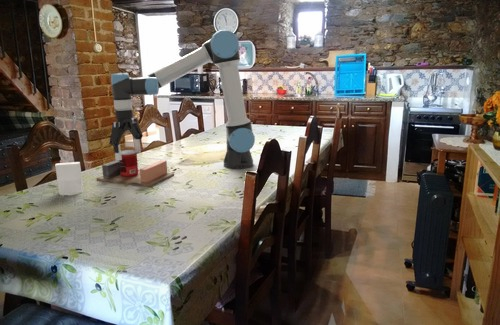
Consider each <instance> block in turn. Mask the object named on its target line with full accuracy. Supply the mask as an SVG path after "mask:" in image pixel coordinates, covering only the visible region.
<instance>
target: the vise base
mask: <svg viewBox="0 0 500 325" xmlns="http://www.w3.org/2000/svg"><path fill="white" fill-rule="evenodd" d="M101 169H102V176H98V177H96V181H100V182H107V183H114V184H115V183H117V184H124V185H125V184H126V185H133V186H141V187H150V188H152V187H154V186H156V185H159V184H161V183H162V182H164V181H166V180H168V179H170V178H172V177H174V176H175V173H173V172H167V173H166V174H164V175H162V176H160V177H158V178H156V179H154V180H152V181H150V182H147V183H144V182H141V177H140V169H138V175H136V176H133V177H122V176H121V173H120V163H119V160H116V159H115V160H113V161H111V162H108V163H103V164H102V165H101Z"/></svg>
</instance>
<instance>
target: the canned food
mask: <svg viewBox="0 0 500 325" xmlns="http://www.w3.org/2000/svg"><path fill="white" fill-rule="evenodd" d="M137 154H138V153H137V152H136V151H135V149H125V150H121V156H122V160H119V163H120V173H121V176H122V177H133V176H136V175H138V170H139V166H138V155H137Z"/></svg>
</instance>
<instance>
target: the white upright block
mask: <svg viewBox="0 0 500 325" xmlns="http://www.w3.org/2000/svg"><path fill="white" fill-rule="evenodd" d="M54 167H55V173H56V174H55V175H56V181H57V185H58V186H57V187H58V193H59V195H60V196H64V195H68V196H73V195H74V196H75V195H79V194H81V193H83V192H84V184H83V175H82V167H81V162H80V161H72V162H60V163H58V162H57V163H55V165H54Z"/></svg>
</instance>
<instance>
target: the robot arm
mask: <svg viewBox="0 0 500 325" xmlns="http://www.w3.org/2000/svg"><path fill="white" fill-rule="evenodd" d="M239 45H240V42H239V38H238V36H237V35H236V34H235V32H233V31H231V30H228V29H220V30H217V31H216V32H214V33H213V34H212V36H211V38H210V39H209V40H207V41H206V42H204V43H202V44H201V47H199V48H197V49H195V50H194V51H191V52H190V53H188V54H185V55H184V56H182V57H180V58H178V59H176V60H175V61H172V62H171V63H169V64H166V65H165V66H163V67H161V68H160V69H158V70H156V71H154V72H152V73H149V74H148V75H146V76H143V77H131V76H130V75H129V73H126V72H125V73H124V72H123V73H112V74H111V75H110V79H111V84H110V85H111V92H112V98H113V99H112V101H113V107H114V118H115V119H116V120H117V121H115V122H114V121H113V122H112V124H111V126H112V129H111V133H110V138H109V143H108V144H109V146H113V151H114V154H115V156H114V157H115V158H114V159H115V161H116V160H122V156H121V151H122V150H121V144H120V142H121V139H122V137H123V135H124V133H125V132H127V131H129V132H130V134H131V135H132V137H133V138H134V139H133V146H134V150H135V151H136V152H137V154H142V152H141V150H142V149H141V140H142V138H143V136H144V135H143V133H142V130H141V128H140V126H139V123H138V120H137V118H136V117H134V112H133V109H132V108H133V100H132V96H148V95H149V96H152V95H153V96H154V95H158V94H159V93H160V92H159V90H160V89H161V88H162V87H164V86H167V85H168V84H170V83H172V82H175V81H176V80H178V79H180V78H182V77H183V76H185V75H187V74H189V73H191V72H194V71H195V70H196V69H197V70H198V68H199V69H200V68H201V67H203V66H204V65H205V66H206V64H208V63H211V64H214V66H216V67H217V68H218V72H219V78H220V84H221V89H222V93H223V99H224V105H225V109H226V115H227V121H226V122H225V123H226V124H225V129H226V131H225V132H226V153H225V155H224V159H223V167H226V168H229V169H237V168H240V169H246V168H247V169H248V168H251V167H252V166H254V159H253V156H252V152H251V149H253V147H254V145H255V141H256V135H255V134H254V132H253V126H252V121H251V119H249V118H248V117H247V113H246V112H247V111H246V105H245V99H244V95H243V89H242V82H241V76H240V71H239V70H240V69H239V66H238V64H239V63H240V61H241V57H240V50H239Z"/></svg>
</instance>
